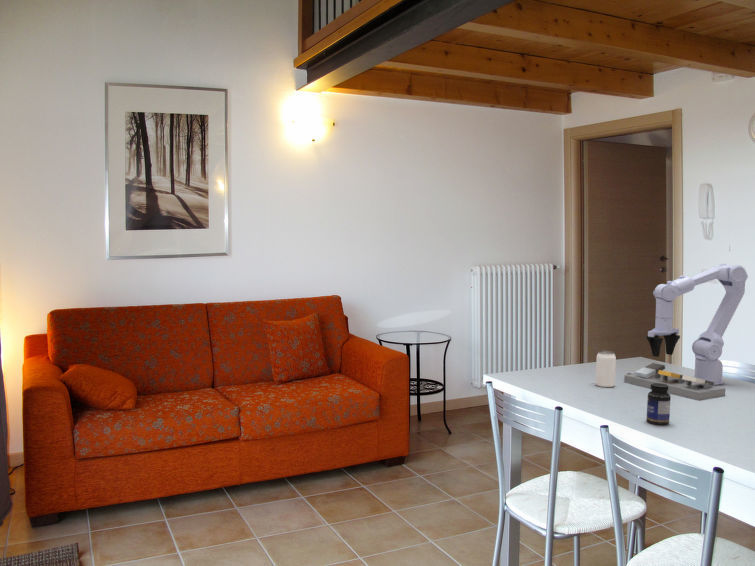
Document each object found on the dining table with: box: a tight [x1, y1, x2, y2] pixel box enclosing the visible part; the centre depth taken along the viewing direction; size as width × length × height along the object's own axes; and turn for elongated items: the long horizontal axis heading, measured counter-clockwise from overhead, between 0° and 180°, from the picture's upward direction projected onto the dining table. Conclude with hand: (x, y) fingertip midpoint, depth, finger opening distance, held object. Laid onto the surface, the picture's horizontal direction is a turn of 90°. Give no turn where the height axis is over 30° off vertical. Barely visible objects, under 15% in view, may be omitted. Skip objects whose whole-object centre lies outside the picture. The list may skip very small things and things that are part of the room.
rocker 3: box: [682, 374, 715, 386], centre depth 232 cm, size 10×5×1 cm, turn 121°
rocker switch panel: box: [623, 372, 726, 401], centre depth 242 cm, size 14×35×4 cm, turn 30°
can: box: [595, 350, 617, 389], centre depth 243 cm, size 6×6×12 cm
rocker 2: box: [658, 370, 684, 378], centre depth 240 cm, size 10×5×1 cm, turn 121°
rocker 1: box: [634, 362, 666, 378], centre depth 248 cm, size 10×5×1 cm, turn 119°
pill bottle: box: [646, 383, 671, 426], centre depth 197 cm, size 6×6×11 cm
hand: (662, 355), depth 247 cm, fingers open, 7 cm apart
